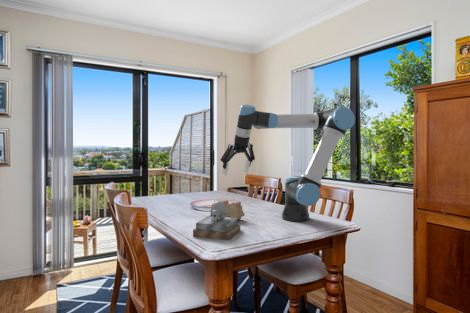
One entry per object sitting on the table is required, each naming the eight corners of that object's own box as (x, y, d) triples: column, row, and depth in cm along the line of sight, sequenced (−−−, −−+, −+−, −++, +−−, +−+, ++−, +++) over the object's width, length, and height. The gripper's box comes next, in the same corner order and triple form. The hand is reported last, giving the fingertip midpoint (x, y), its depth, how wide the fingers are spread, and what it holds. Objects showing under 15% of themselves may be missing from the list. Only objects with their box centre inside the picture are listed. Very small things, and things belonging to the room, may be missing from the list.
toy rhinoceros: (205, 226, 142) (203, 210, 139) (215, 212, 152) (213, 197, 149) (220, 228, 140) (217, 212, 136) (229, 213, 150) (227, 198, 147)
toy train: (239, 222, 167) (239, 203, 166) (213, 218, 176) (213, 200, 176) (244, 220, 171) (244, 202, 171) (219, 216, 181) (219, 198, 180)
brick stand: (240, 230, 151) (240, 217, 151) (228, 240, 135) (229, 226, 135) (207, 227, 156) (207, 215, 156) (193, 236, 140) (193, 223, 140)
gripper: (225, 138, 149) (218, 178, 157) (266, 137, 163) (258, 173, 171) (217, 133, 155) (211, 171, 163) (258, 132, 169) (250, 167, 176)
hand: (235, 172), depth 167 cm, fingers open, 13 cm apart
